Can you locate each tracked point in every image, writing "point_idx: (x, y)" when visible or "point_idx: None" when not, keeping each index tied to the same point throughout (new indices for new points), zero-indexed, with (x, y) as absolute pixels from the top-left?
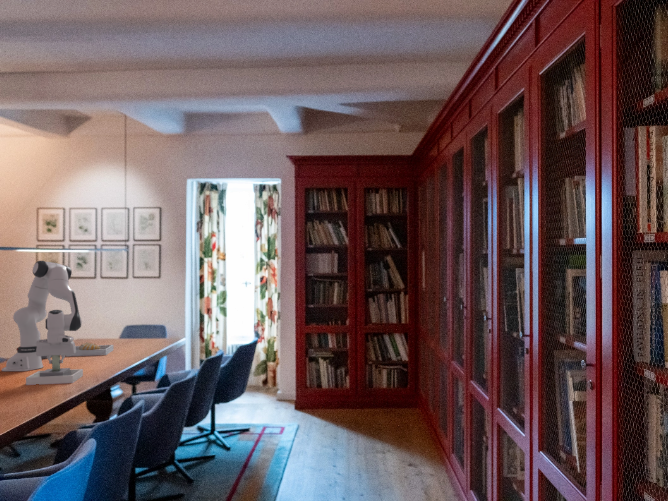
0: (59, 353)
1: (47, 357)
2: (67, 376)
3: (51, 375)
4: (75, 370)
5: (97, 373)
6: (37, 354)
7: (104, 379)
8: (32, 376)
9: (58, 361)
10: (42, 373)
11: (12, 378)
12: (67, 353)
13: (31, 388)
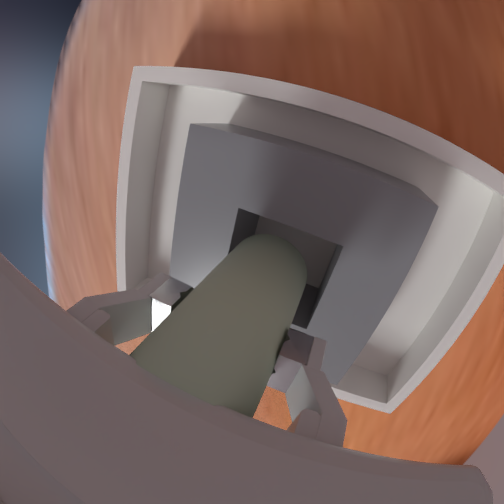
0: (73, 353)
1: (335, 422)
2: (171, 67)
3: (316, 153)
4: None
5: (102, 292)
6: (481, 489)
7: (56, 124)
8: (471, 282)
9: (188, 296)
10: (412, 194)
11: (484, 413)
12: (4, 279)
13: (453, 21)
